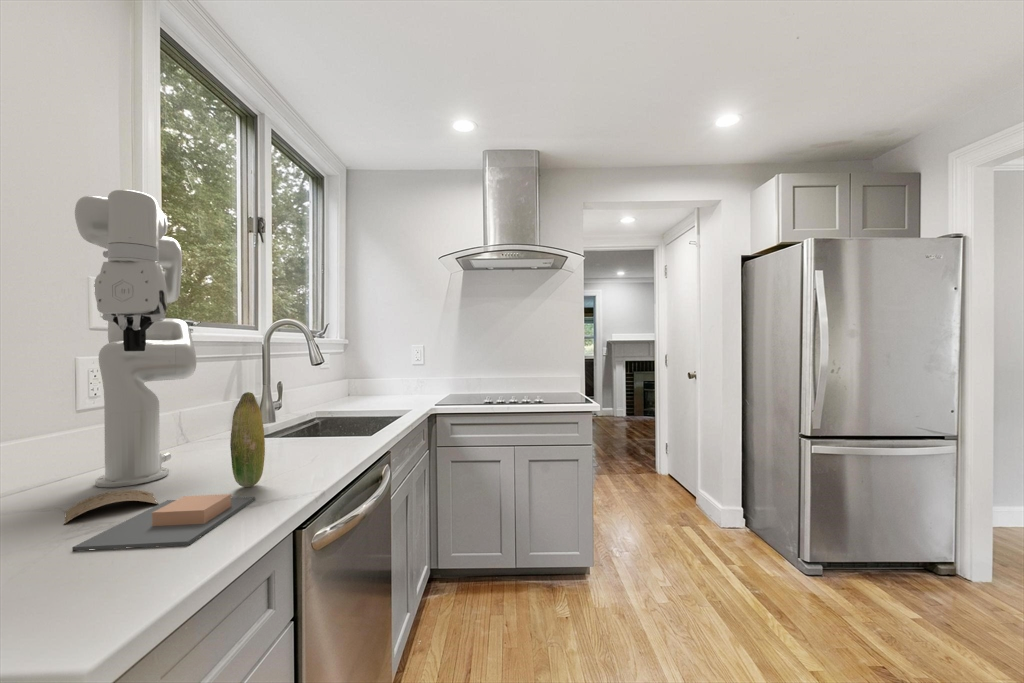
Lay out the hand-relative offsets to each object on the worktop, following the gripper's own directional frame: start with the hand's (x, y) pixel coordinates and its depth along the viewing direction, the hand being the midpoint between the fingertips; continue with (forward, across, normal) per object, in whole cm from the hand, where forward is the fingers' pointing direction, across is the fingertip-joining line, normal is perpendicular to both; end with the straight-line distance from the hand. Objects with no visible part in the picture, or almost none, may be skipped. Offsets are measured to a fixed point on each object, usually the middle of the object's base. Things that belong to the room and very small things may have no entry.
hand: (134, 350), depth 87 cm
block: (+27, +13, -11) cm, 32 cm away
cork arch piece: (+30, -2, -3) cm, 30 cm away
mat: (+29, +15, -12) cm, 35 cm away
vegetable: (+29, +18, +6) cm, 35 cm away
